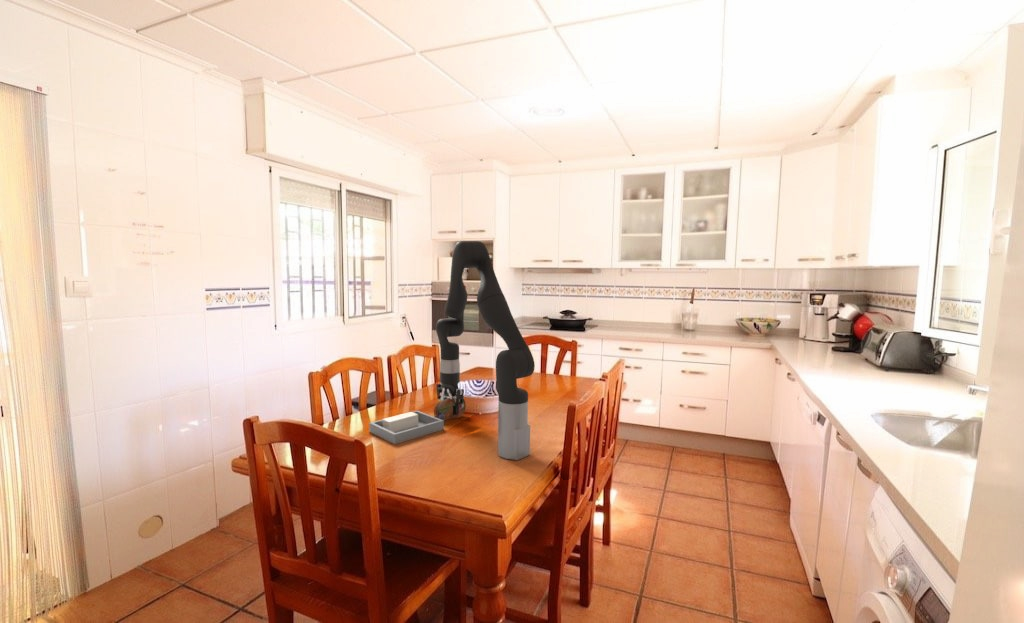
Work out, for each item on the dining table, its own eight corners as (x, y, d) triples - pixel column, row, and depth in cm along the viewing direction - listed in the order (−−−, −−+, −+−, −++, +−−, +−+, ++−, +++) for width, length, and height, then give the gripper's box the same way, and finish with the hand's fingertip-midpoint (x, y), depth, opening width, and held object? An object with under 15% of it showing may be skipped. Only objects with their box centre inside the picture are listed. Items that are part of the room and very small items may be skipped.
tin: (438, 425, 169) (438, 403, 168) (432, 423, 171) (432, 401, 170) (466, 415, 181) (466, 394, 180) (460, 413, 183) (460, 393, 182)
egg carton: (418, 425, 166) (418, 414, 166) (389, 433, 158) (389, 422, 157) (411, 422, 169) (411, 411, 169) (382, 430, 161) (382, 419, 160)
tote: (443, 431, 163) (443, 420, 162) (394, 446, 148) (394, 434, 148) (417, 420, 173) (417, 410, 173) (369, 434, 159) (369, 422, 159)
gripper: (469, 371, 172) (469, 415, 173) (445, 366, 182) (445, 407, 183) (454, 375, 167) (454, 419, 168) (430, 368, 176) (430, 411, 178)
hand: (449, 412), depth 176 cm, fingers open, 6 cm apart
